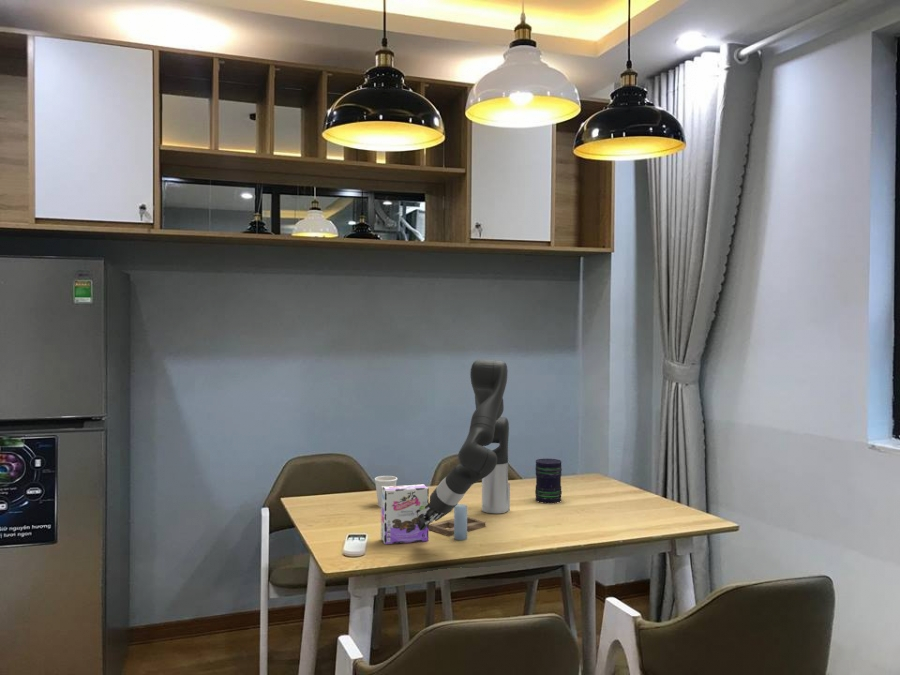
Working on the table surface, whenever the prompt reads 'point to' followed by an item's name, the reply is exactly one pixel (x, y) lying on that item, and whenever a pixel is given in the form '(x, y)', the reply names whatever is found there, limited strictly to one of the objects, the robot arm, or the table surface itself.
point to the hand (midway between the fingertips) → (420, 527)
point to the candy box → (403, 513)
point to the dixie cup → (381, 482)
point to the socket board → (442, 525)
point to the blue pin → (460, 522)
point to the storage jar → (548, 480)
